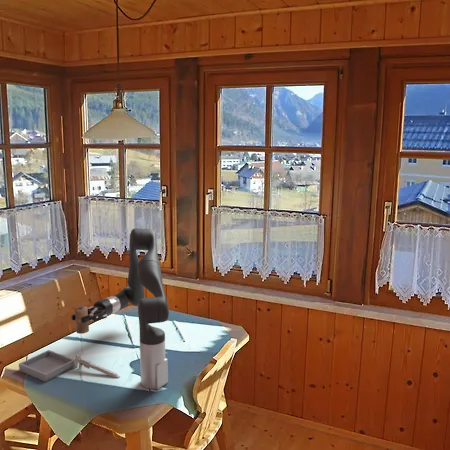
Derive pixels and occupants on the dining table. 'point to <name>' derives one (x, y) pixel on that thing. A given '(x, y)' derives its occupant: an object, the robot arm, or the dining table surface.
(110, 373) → the caliper
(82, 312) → the cylinder
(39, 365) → the tray
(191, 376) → the dining table surface
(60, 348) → the dining table surface
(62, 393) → the dining table surface
